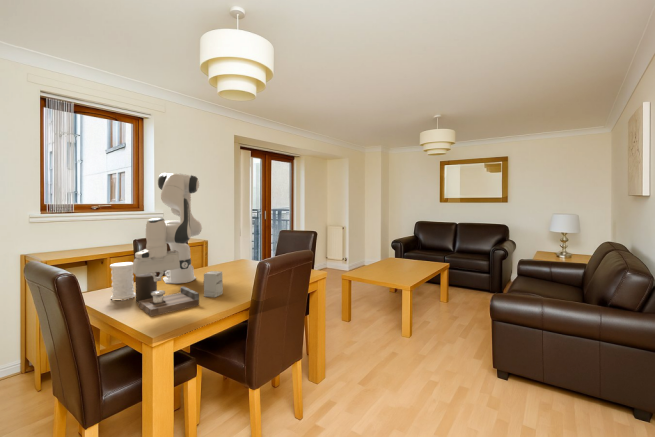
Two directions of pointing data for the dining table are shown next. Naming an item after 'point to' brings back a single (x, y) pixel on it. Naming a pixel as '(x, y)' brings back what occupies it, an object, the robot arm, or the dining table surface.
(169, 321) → the dining table surface
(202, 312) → the dining table surface
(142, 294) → the pillar candle
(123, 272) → the decorative container
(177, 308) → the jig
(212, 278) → the supplement box
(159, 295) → the frosted bulb shape
